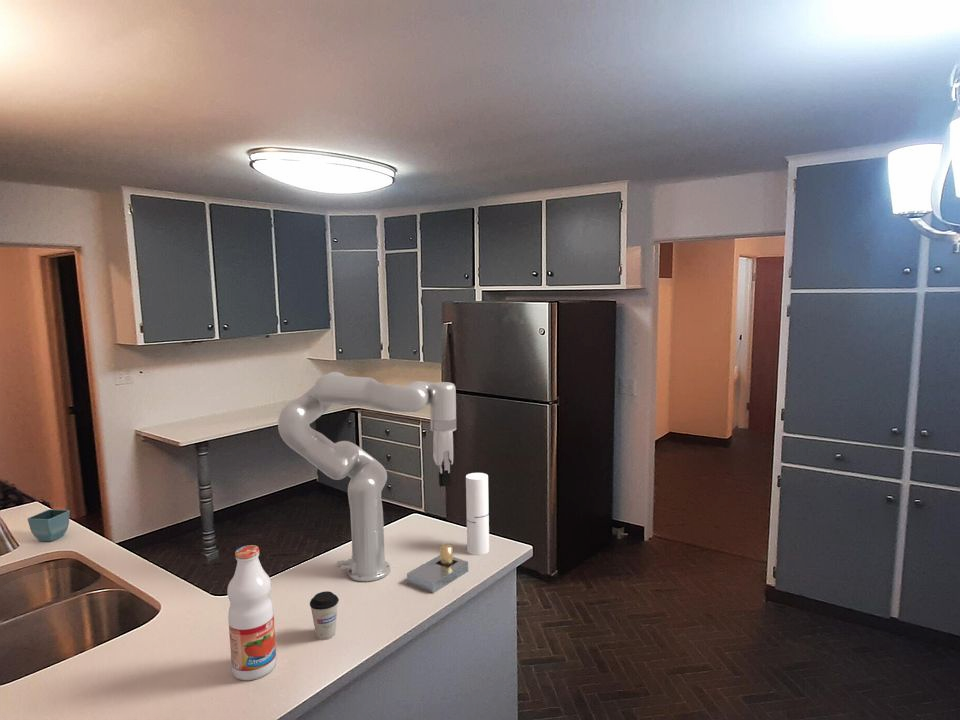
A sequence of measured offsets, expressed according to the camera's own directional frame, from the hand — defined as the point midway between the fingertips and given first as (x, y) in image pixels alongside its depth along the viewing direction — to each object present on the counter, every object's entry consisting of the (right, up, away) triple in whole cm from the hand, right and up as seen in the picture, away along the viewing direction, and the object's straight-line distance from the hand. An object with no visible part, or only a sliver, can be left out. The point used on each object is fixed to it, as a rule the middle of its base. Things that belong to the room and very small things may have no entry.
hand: (444, 485), depth 174 cm
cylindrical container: (+10, -25, +17) cm, 32 cm away
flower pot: (-140, -26, +32) cm, 146 cm away
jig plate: (-2, -27, 0) cm, 27 cm away
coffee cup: (-28, -31, -29) cm, 50 cm away
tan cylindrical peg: (+1, -27, +3) cm, 27 cm away
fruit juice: (-40, -33, -41) cm, 66 cm away
